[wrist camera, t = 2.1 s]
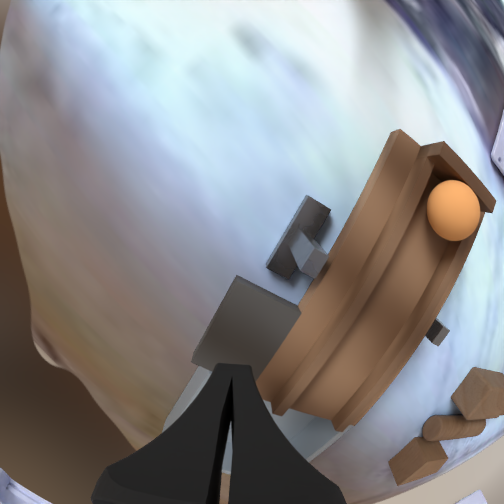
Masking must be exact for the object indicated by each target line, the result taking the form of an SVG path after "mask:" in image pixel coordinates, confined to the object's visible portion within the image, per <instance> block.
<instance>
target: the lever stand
mask: <svg viewBox="0 0 504 504" xmlns="http://www.w3.org/2000/svg"><path fill="white" fill-rule="evenodd" d="M330 211H331V209H329V208H327V207H326V206H324V205H323V204H321V203H319V202H318V201H316V200H314V199H313V198H311V197H309V196H307V195H306V196H305V198H304V200H303V201H302V203H301V205H300V206H299V208H298V210H297V212H296V213H295V215H294V217H293V218H292V220H291V222H290V224H289V225H288V227H287V229H286V230H285V232H284V234H283V235H282V237H281V239H280V241H279V242H278V244H277V246H276V247H275V249H274V251H273V252H272V254H271V256H270V257H269V259H268V261H267V262H266V268H268V269H270V270H272V271H273V272H275V273H277V274H279V275H281V276H283V277H285V278H287V279H289V278H290V277H291V275H292V273H293V272H294V270H295V269H296V267H297V265H298V267H299V269H300V271H301V272H303V273H305V274H307V275H308V276H310V277H312V278H314V279H315V278H316V277H317V275H318V274H319V272H320V271H321V269H322V268H323V266H324V264H325V263H326V261H327V260H328V258H329V256H328V254H327V253H326V252H325V251H324V250H323V249H322V247H321V246H320V245H319V244H318V243H317V242H316V240H315V239H314V238H315V236H316V234H317V233H318V231H319V229H320V228H321V226H322V224H323V223H324V221H325V219H326V218H327V216H328V214H329V213H330ZM449 331H450V330H449V329H448V328H446V327H445V326H444V325H443V324H442V323H441V322H440V321H439V320H438V319H437V318H436V319H435V320H434V322H433V324H432V325H431V327H430V328H429V330H428V332H427V333H426V335H425V336H426V337H427V338H428V339H429V340H430V341H431V342H432V343H433V344H435V345H437V346H439V345H440V344H441V342H442V341H443V340H444V338H445V337H446V336H447V334H448V333H449Z"/></svg>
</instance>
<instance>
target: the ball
mask: <svg viewBox="0 0 504 504" xmlns="http://www.w3.org/2000/svg"><path fill="white" fill-rule="evenodd" d="M427 216H428V220H429V223H430V225H431V227H432V228H433V230H434V231H435V232H436V233H437V234H438V235H439V236H441V237H442V238H444V239H447V240H450V241H459V240H463V239H465V238H467V237H469V236H470V235H471V234H472V233H473V232H474V231H475V229H476V227H477V225H478V223H479V219H480V205H479V201H478V199H477V196H476V195H475V193H474V192H473V190H472V189H471V188H470V187H469V186H467V185H466V184H464V183H463V182H460V181H456V180H448V181H444V182H442V183H440V184H438V185H437V186H436V187H435V188H434V189H433V190H432V192H431V193H430V195H429V198H428V201H427Z"/></svg>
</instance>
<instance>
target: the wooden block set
mask: <svg viewBox="0 0 504 504" xmlns="http://www.w3.org/2000/svg"><path fill="white" fill-rule="evenodd" d="M451 399H452V400H453V402H454V403H455V404H456V406H457V407H458V409H459V410H460V411H461V413H462V414H463V415H434V416H432V417H430V418H429V419H428V420H427V421H426V422H425V424H424V426H423V430H422V433H423V437H415V438H414V439H413V440H412V441H410V442H409V443H408V444H407V445H406V446H405V447H404V448H403V449H402V450H401V451H400V452H399V453H398V454H397V455H395V456H394V457H393V458H392V459H391V460H390V461H389V462H388V463H389V465H390V468H391V470H392V473H393V476H394V478H395V481H396V483H397V486H399V485H402V484H405V483H409V482H411V481H414V480H417V479H420V478H423V477H426V476H428V475H431V474H433V473H436V472H437V471H438V470H439V469H440V468H441V467H442V465H443V464H444V463H445V462H446V461H447V459H448V457H447V455H446V453H445V451H444V449H443V448H442V446H441V444H440V442H439V441H441V440H450V439H459V438H466V437H473V436H477V435H479V434H481V433H482V431H483V430H484V428H485V426H486V419H490V418H497V417H499V415H504V374H503V373H499V372H495V371H490V370H486V369H481V368H477V367H473V368H472V369H471V370H470V372H469V373H468V374H467V376H466V377H465V379H464V380H463V381H462V383H461V384H460V385H459V387H458V388H457V389H456V390H455V392H454V393H453V394H452V396H451Z"/></svg>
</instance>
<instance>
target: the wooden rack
mask: <svg viewBox="0 0 504 504" xmlns="http://www.w3.org/2000/svg"><path fill="white" fill-rule="evenodd" d="M448 180H456V181H460V182H463V183H464V184H466V185H467V186H469V187H470V188H471V189H472V190H473V192H474V193H475V195H476V196H477V199H478V201H479V205H480V219H479V223H478V225H477V227H476V229H475V231H474V232H473V233H472V234H471V235H470V236H469V237H467V238H465V239H463V240H459V241H450V240H447V239H444V238H442V237H441V236H439V235H438V234H437V233H436V232H435V231H434V230H433V228H432V227H431V225H430V223H429V220H428V216H427V201H428V198H429V195H430V193H431V192H432V190H433V189H434V188H435V187H436V186H437V185H438V184H440V183H442V182H444V181H448ZM495 203H496V200H495V198H494V197H493V196H492V195H491V193H490V192H489V191H488V190H487V188H486V187H485V186H484V185H483V183H482V182H481V181H480V180H479V179H478V177H477V176H476V175H475V174H474V173H473V172H472V170H471V169H470V168H469V167H468V166H467V165H466V164H465V163H464V162H463V160H462V159H461V158H460V157H459V156H458V155H457V154H456V153H455V152H454V151H453V150H452V149H451V148H450V147H449V146H448V145H447V144H446V143H445V142H444V141H443V142H438V143H433V144H429V145H424V146H420V145H419V144H418V143H416V142H415V141H414V140H413V139H412V138H411V137H409V136H408V135H407V134H406V133H405V132H403V131H402V130H401V129H399V130H396V131H393V132H391V133H390V135H389V138H388V140H387V142H386V144H385V146H384V148H383V150H382V153H381V155H380V157H379V159H378V161H377V163H376V165H375V167H374V169H373V171H372V173H371V175H370V177H369V179H368V181H367V183H366V185H365V187H364V189H363V191H362V193H361V195H360V197H359V199H358V201H357V203H356V205H355V207H354V208H353V210H352V212H351V214H350V216H349V218H348V220H347V222H346V223H345V225H344V227H343V229H342V231H341V233H340V234H339V236H338V238H337V240H336V242H335V243H334V245H333V247H332V249H331V250H330V252H329V254H328V256H329V258H328V260H327V261H326V263H325V264H324V266H323V268H322V269H321V271H320V272H319V274H318V275H317V277H316V278H315V279H314V280H313V281H312V283H311V285H310V286H309V288H308V290H307V291H306V293H305V295H304V296H303V298H302V300H301V301H300V303H299V304H298V306H297V305H295V304H293V303H291V302H289V301H287V300H285V299H283V298H281V297H279V296H277V295H275V294H273V293H271V292H269V291H267V290H265V289H263V288H261V287H259V286H257V285H255V284H254V283H252V282H250V281H248V280H246V279H244V278H242V277H240V276H238V275H236V277H235V279H234V281H233V282H232V284H231V286H230V288H229V290H228V291H227V293H226V295H225V297H224V299H223V300H222V302H221V304H220V306H219V308H218V309H217V311H216V313H215V315H214V317H213V319H212V320H211V322H210V324H209V326H208V328H207V329H206V331H205V333H204V335H203V337H202V338H201V340H200V342H199V344H198V346H197V348H196V349H195V351H194V353H193V357H192V361H191V362H192V363H194V364H196V365H198V366H201V367H203V368H205V369H207V370H209V371H212V372H213V370H214V367H215V365H216V364H217V363H228V364H243V365H250V366H251V367H252V372H253V376H254V379H255V382H256V385H257V388H258V390H259V393H260V395H261V397H262V399H263V400H265V401H268V402H271V408H272V414H275V415H278V416H281V417H282V416H283V415H284V414H285V413H286V411H287V410H288V409H293V410H296V411H299V412H303V413H306V414H310V415H313V416H317V417H320V418H324V419H328V420H331V422H332V424H333V427H334V429H335V431H339V432H343V431H344V430H345V429H346V428H347V427H348V426H349V425H353V426H355V425H356V424H357V423H358V422H359V421H360V419H361V418H362V417H363V416H364V415H365V414H366V413H367V412H368V411H369V409H370V408H371V407H372V406H373V405H374V404H375V402H376V401H377V400H378V399H379V398H380V397H381V395H382V394H383V393H384V392H385V390H386V389H387V388H388V387H389V385H390V384H391V383H392V382H393V380H394V379H395V378H396V376H397V375H398V374H399V372H400V371H401V370H402V368H403V367H404V366H405V364H406V363H407V361H408V360H409V359H410V357H411V356H412V354H413V353H414V351H415V350H416V348H417V347H418V345H419V344H420V342H421V341H422V339H423V338H424V336H425V335H426V333H427V332H428V330H429V328H430V327H431V325H432V324H433V322H434V320H435V319H436V317H437V315H438V313H439V312H440V310H441V308H442V306H443V305H444V303H445V301H446V299H447V297H448V296H449V294H450V292H451V290H452V288H453V286H454V284H455V282H456V280H457V278H458V276H459V274H460V272H461V270H462V268H463V266H464V263H465V261H466V259H467V257H468V255H469V252H470V250H471V248H472V245H473V243H474V240H475V238H476V236H477V233H478V230H479V228H480V225H481V223H482V220H483V217H484V214H485V212H488V213H493V210H494V206H495Z"/></svg>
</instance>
